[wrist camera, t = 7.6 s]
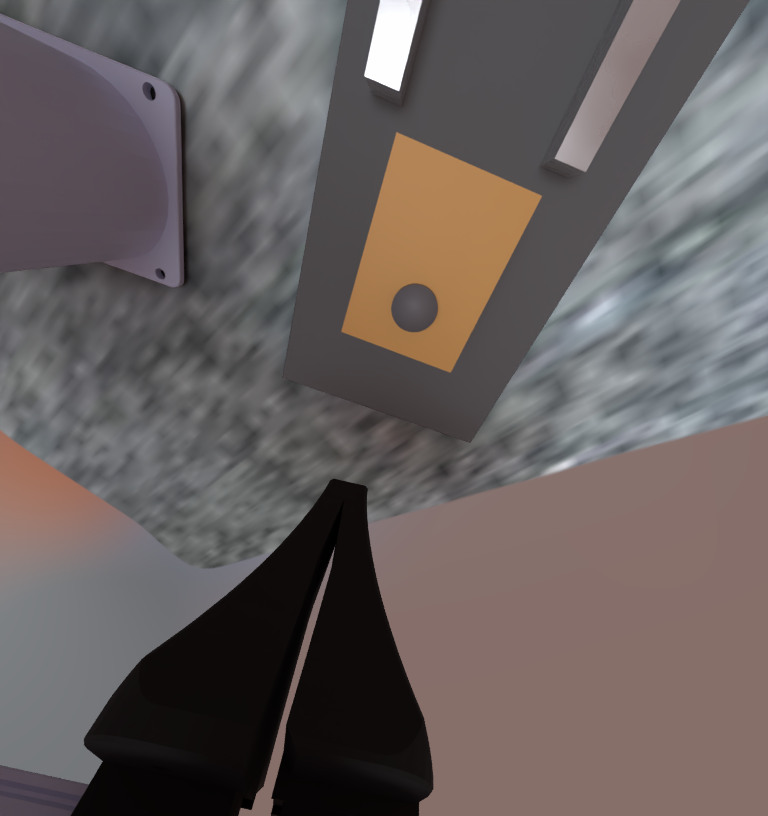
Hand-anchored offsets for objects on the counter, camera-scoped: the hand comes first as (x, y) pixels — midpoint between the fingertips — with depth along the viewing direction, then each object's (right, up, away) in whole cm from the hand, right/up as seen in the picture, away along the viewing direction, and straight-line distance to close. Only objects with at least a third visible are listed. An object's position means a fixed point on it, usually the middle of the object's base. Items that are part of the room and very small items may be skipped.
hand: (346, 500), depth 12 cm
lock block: (+3, +10, +2) cm, 11 cm away
